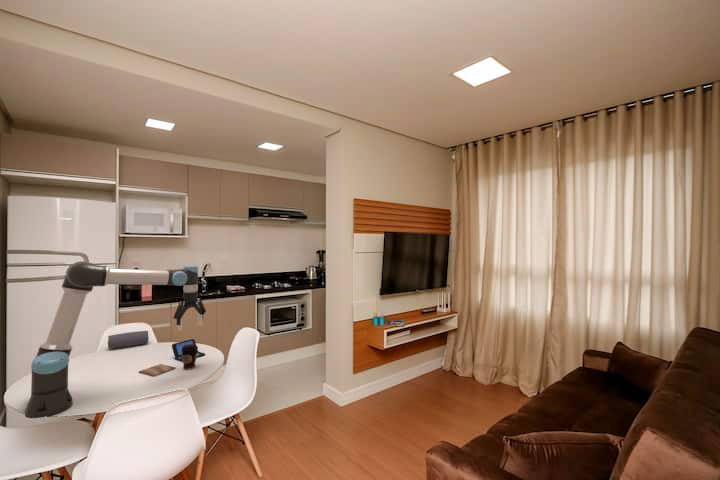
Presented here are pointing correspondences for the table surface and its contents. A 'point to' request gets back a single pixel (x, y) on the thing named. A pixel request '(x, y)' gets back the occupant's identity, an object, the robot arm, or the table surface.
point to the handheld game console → (178, 349)
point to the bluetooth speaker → (127, 339)
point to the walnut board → (157, 370)
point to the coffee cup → (189, 355)
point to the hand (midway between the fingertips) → (190, 327)
